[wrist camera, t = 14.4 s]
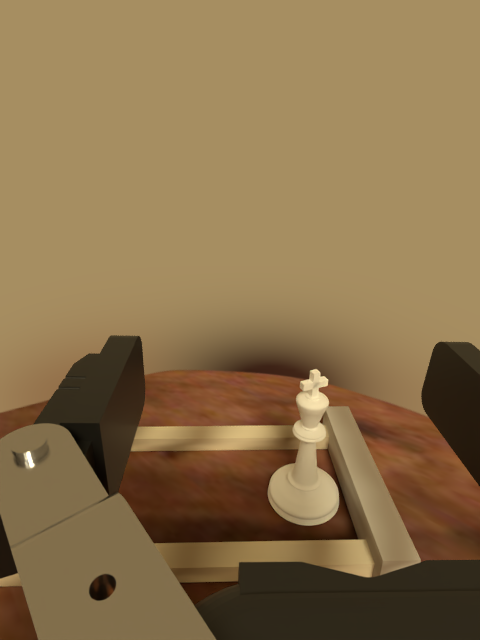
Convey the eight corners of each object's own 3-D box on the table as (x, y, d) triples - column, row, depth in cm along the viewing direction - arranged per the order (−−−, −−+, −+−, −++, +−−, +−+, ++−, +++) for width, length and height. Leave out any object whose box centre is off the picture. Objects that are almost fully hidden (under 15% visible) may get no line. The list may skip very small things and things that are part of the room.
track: (-55, 601, 21) (-69, 570, 20) (50, 433, 33) (45, 408, 32) (412, 591, 22) (420, 560, 21) (344, 430, 34) (348, 406, 33)
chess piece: (256, 479, 29) (260, 359, 25) (314, 462, 30) (327, 347, 27) (288, 536, 25) (299, 402, 21) (353, 512, 26) (375, 384, 22)
